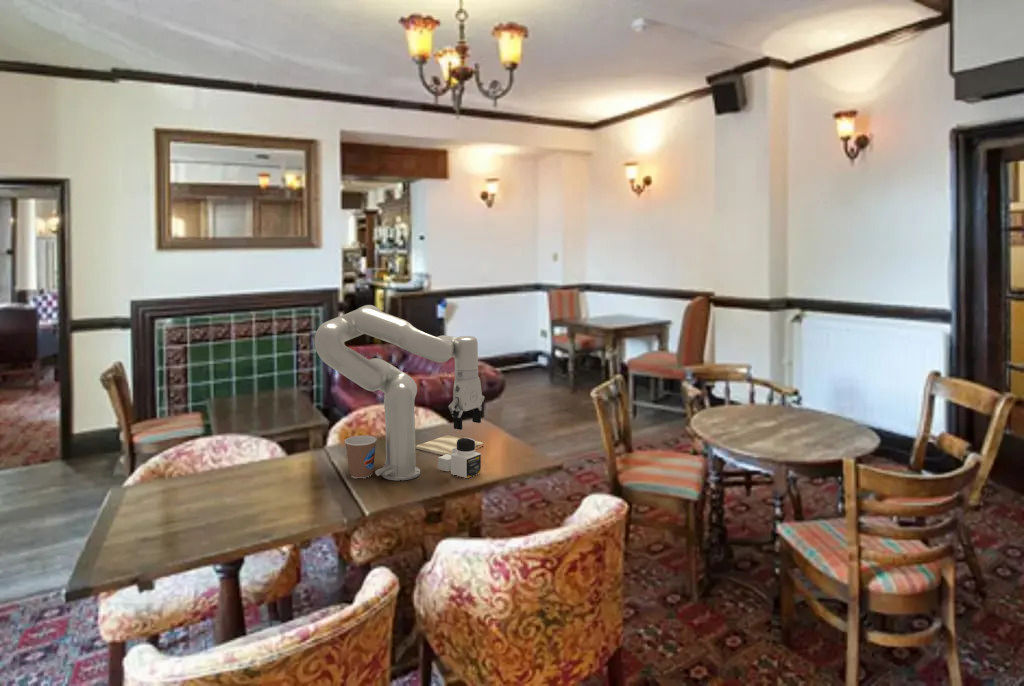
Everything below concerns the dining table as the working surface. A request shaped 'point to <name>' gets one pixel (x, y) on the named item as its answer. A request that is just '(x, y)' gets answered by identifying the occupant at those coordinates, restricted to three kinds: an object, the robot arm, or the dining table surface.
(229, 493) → the dining table surface
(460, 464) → the medicine bottle
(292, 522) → the dining table surface
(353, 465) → the coffee cup
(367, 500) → the dining table surface
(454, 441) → the birch board
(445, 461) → the white cube
